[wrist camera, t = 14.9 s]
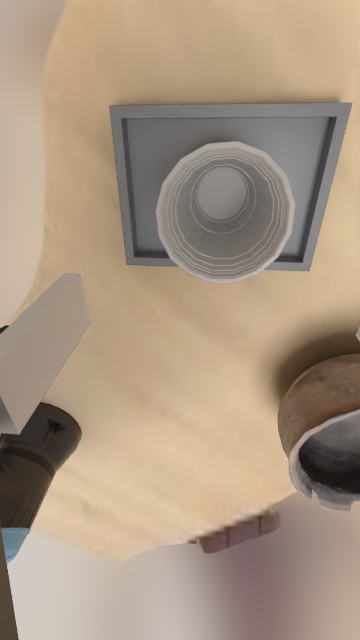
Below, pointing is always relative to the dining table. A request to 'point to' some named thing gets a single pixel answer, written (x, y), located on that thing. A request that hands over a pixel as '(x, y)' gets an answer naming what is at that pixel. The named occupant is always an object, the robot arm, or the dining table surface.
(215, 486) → the dining table surface
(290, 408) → the ceramic bowl
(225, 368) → the dining table surface
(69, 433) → the robot arm
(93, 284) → the dining table surface
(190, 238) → the plastic cup
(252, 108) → the cup tray
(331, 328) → the dining table surface
